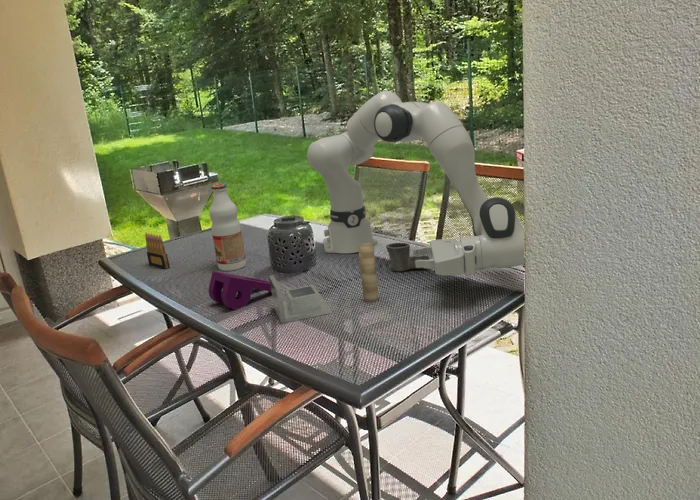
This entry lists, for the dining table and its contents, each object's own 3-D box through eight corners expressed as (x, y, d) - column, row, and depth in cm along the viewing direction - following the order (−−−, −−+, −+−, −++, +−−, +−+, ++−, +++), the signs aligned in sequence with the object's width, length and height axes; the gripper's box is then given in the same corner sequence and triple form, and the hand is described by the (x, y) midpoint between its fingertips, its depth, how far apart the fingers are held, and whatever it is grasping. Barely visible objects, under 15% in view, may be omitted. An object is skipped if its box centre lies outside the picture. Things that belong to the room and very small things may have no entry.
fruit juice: (240, 271, 195) (226, 186, 187) (213, 271, 198) (198, 188, 190) (250, 261, 204) (237, 180, 196) (225, 262, 206) (211, 182, 198)
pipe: (429, 272, 176) (427, 246, 174) (386, 273, 179) (383, 248, 176) (430, 265, 182) (428, 240, 179) (388, 267, 184) (386, 242, 182)
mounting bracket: (258, 307, 179) (205, 300, 167) (264, 280, 179) (212, 270, 167) (276, 314, 172) (222, 307, 160) (283, 286, 172) (230, 277, 160)
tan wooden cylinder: (361, 297, 162) (356, 244, 158) (375, 295, 163) (370, 242, 158) (366, 302, 158) (360, 248, 154) (380, 299, 159) (375, 246, 155)
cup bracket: (273, 307, 162) (268, 275, 159) (320, 297, 165) (317, 266, 162) (281, 323, 151) (276, 290, 148) (331, 312, 154) (327, 280, 151)
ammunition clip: (149, 265, 213) (142, 232, 209) (153, 263, 214) (146, 231, 211) (165, 269, 206) (158, 236, 202) (170, 267, 207) (163, 234, 204)
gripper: (462, 231, 164) (412, 236, 165) (472, 253, 144) (415, 258, 146) (464, 253, 166) (413, 257, 167) (473, 278, 146) (417, 282, 147)
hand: (414, 258), depth 156 cm, fingers open, 8 cm apart
